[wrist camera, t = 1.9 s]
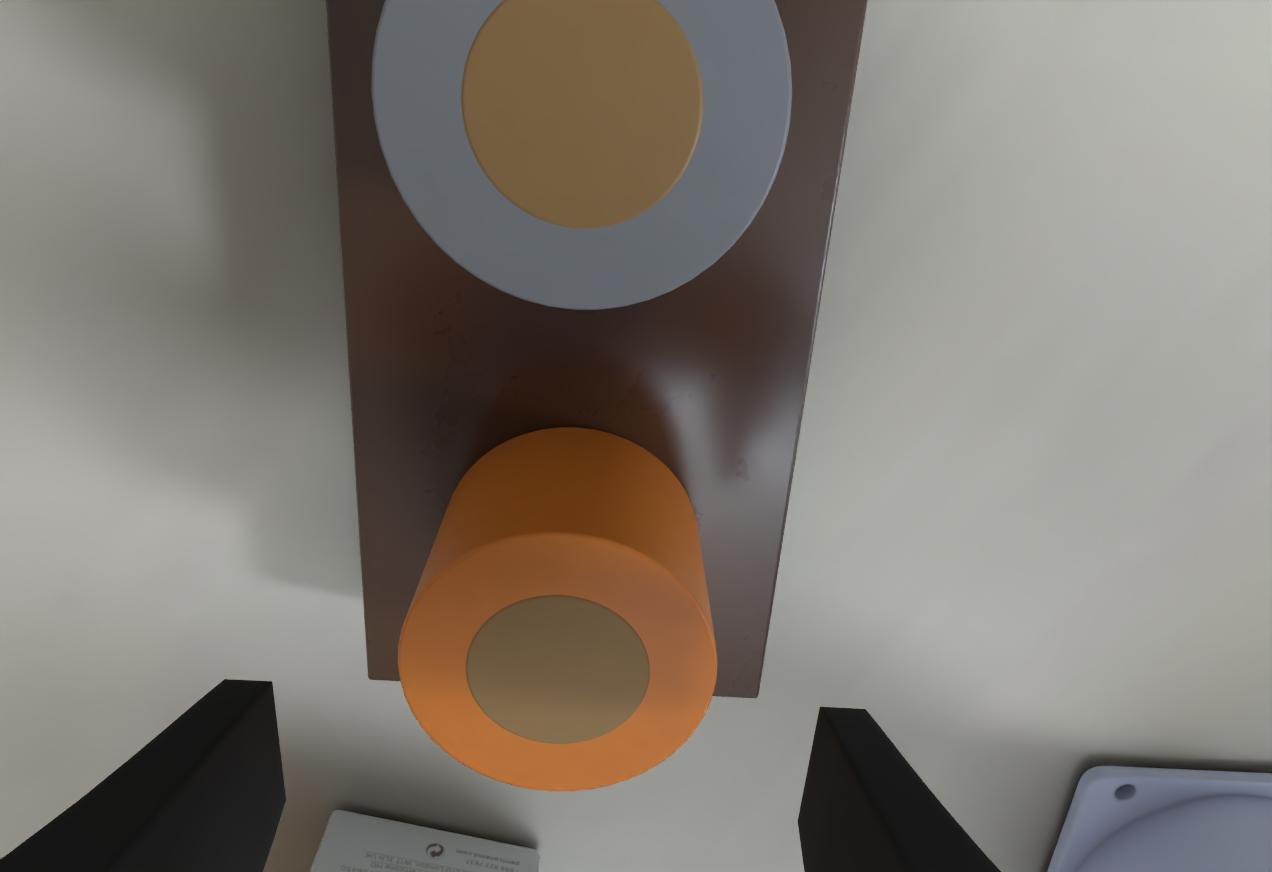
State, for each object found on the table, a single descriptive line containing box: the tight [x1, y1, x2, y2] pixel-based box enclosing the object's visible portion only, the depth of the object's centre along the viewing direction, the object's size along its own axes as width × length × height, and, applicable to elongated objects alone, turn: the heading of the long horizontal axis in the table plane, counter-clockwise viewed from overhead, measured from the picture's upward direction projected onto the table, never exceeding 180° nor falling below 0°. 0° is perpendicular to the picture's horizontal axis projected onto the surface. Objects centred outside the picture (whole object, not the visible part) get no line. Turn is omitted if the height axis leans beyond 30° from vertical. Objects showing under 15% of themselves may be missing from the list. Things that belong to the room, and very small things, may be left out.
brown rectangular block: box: [326, 0, 867, 698], centre depth 16 cm, size 8×15×3 cm, turn 176°
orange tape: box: [398, 427, 717, 791], centre depth 15 cm, size 5×5×4 cm
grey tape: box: [372, 0, 792, 310], centre depth 12 cm, size 5×5×4 cm
